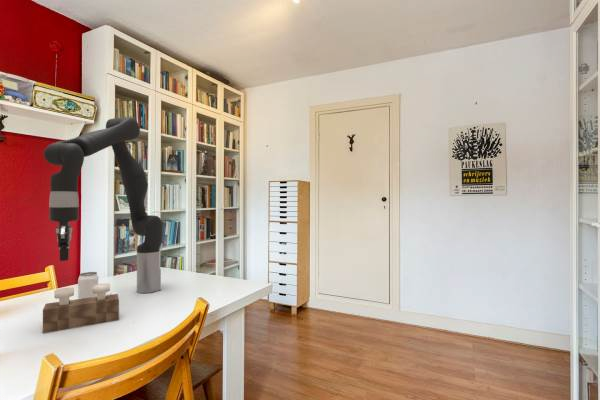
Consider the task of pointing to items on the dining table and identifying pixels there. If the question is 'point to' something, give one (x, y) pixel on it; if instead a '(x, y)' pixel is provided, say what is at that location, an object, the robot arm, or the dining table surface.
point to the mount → (80, 313)
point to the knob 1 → (63, 295)
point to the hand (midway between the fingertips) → (64, 260)
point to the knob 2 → (101, 290)
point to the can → (87, 284)
